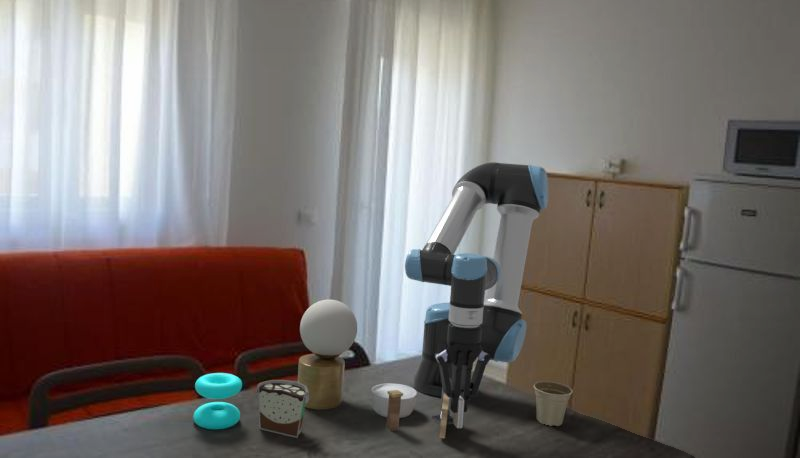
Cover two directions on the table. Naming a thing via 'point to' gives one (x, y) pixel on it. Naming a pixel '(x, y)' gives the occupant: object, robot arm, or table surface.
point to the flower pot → (551, 402)
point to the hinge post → (438, 417)
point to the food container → (282, 406)
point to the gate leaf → (444, 416)
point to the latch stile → (393, 409)
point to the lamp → (325, 351)
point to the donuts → (217, 412)
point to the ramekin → (382, 398)
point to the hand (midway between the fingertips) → (457, 425)
